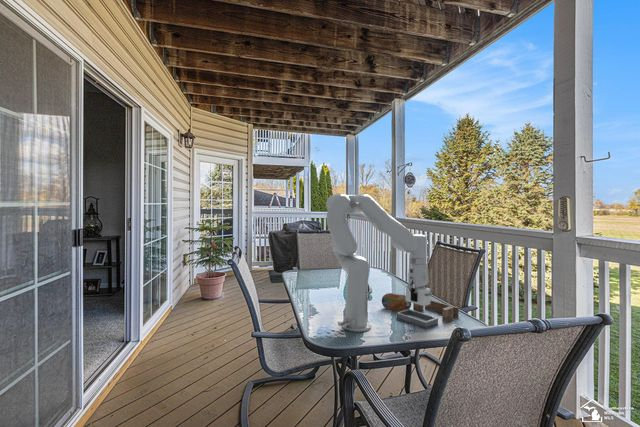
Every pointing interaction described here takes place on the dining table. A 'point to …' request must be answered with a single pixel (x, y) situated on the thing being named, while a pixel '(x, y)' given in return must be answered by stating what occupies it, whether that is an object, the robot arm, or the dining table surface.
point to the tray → (417, 318)
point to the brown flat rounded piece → (395, 302)
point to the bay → (440, 310)
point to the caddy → (420, 296)
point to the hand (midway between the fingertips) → (417, 299)
